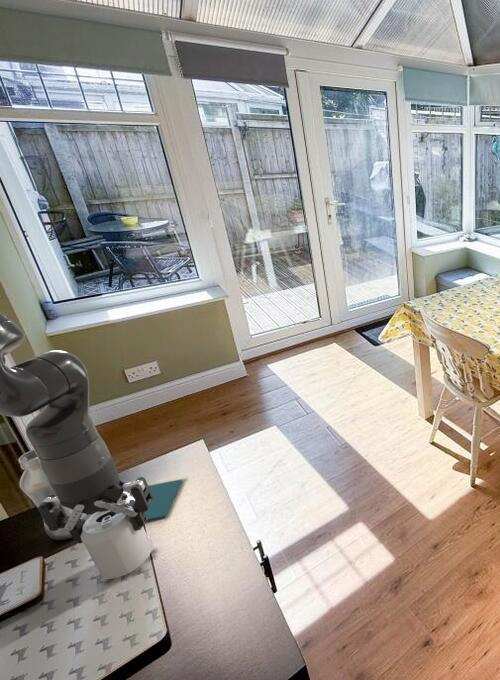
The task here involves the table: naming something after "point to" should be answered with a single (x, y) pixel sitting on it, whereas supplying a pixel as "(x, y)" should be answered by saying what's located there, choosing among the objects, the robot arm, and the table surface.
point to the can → (115, 543)
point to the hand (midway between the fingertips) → (113, 532)
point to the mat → (161, 499)
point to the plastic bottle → (41, 490)
